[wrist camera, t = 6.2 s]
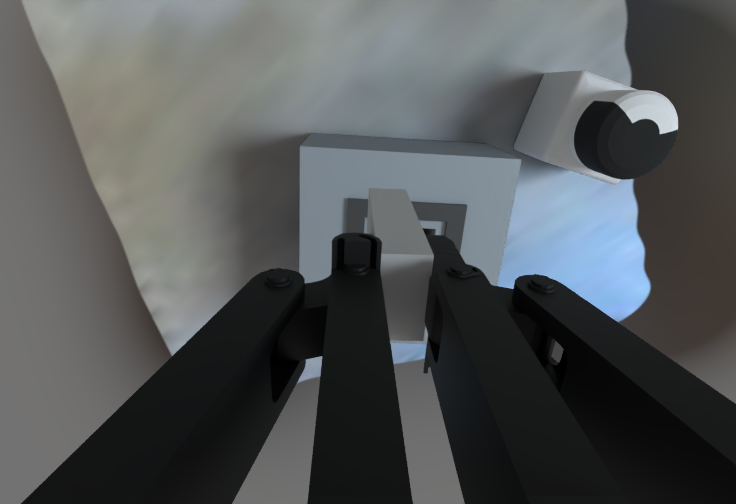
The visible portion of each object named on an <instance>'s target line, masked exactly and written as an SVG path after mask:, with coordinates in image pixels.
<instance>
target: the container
mask: <svg viewBox="0 0 736 504" xmlns="http://www.w3.org/2000/svg"><path fill="white" fill-rule="evenodd" d="M677 131H678V118H677V114H676V110H675V108H674V106H673V105H672V103H671V102H670V101H669V100H668V99H667V98H666V97H665V96H663V95H661V94H659V93H657V92H653V91H645V90H636V89H633V88H631V87H628V86H625V85H623V84H620V83H617V82H615V81H612V80H609V79H606V78H604V77H601V76H598V75H596V74H593V73H590V72H587V71H569V72H553V73H546V74H544V76H543V77H542V80H541V82H540V84H539V87H538V89H537V92H536V94H535V96H534V99H533V101H532V103H531V106H530V108H529V110H528V113H527V115H526V117H525V120H524V122H523V124H522V127H521V129H520V132H519V134H518V136H517V139H516V141H515V143H514V146H513V147H514V149H515V150H516V151H519V152H521V153H524V154H526V155H529V156H531V157H534V158H536V159H539V160H541V161H544V162H547V163H550V164H553V165H556V166H559V167H562V168H565V169H568V170H571V171H574V172H577V173H580V174H583V175H586V176H589V177H592V178H595V179H598V180H601V181H604V182H607V183H610V184H617V183H618V182H619V181H620V179H634V178H637V177H640V176H642V175H645V174H647V173H649V172H650V171H652V170H653V169H655V168H656V167H657V166H658V165H659V164H660V163H662V161H663V160H664V159H665V158H666V157H667V155H668V154H669V152H670V151H671V149H672V147H673V145H674V142H675V140H676V136H677Z"/></svg>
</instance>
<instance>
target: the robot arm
mask: <svg viewBox="0 0 736 504" xmlns="http://www.w3.org/2000/svg"><path fill="white" fill-rule="evenodd" d="M425 325H426V329H427V332H428V339H427V347H426V355H425V363H424V373H428V368H429V367H430V368H431V372H432V376H433V380H434V383H435V387H436V391H437V395H438V399H439V403H440V407H441V411H442V415H443V419H444V423H445V427H446V431H447V435H448V439H449V443H450V446H451V451H452V455H453V458H454V463H455V467H456V471H457V474H458V478H459V482H460V487H461V491H462V494H463V498H464V502H465V504H736V404H735V403H734V402H732V401H731V400H729V399H728V398H726V397H725V396H723V395H722V394H720V393H719V392H718V391H716V390H715V389H713V388H712V387H710V386H709V385H708V384H706V383H705V382H703V381H702V380H700V379H699V378H697V377H696V376H695V375H693V374H692V373H690V372H689V371H687V370H686V369H684V368H683V367H682V366H680V365H679V364H677V363H676V362H674V361H673V360H671V359H670V358H668V357H667V356H666V355H664V354H663V353H661V352H660V351H658V350H657V349H656V348H654V347H653V346H651V345H650V344H648V343H647V342H645V341H644V340H643V339H641V338H639V337H638V336H637V335H635V334H634V333H632V332H631V331H630V330H628V329H627V328H625V327H624V326H622V325H621V324H619V323H618V322H617V321H615V320H614V319H612V318H611V317H609V316H608V315H606V314H605V313H604V312H602V311H601V310H599V309H598V308H596V307H595V306H593V305H592V304H591V303H589V302H588V301H586V300H585V299H583V298H582V297H580V296H579V295H578V294H576V293H575V292H573V291H572V290H570V289H569V288H567V287H566V286H565V285H563V284H561V283H559V282H558V281H556V280H553V279H550V278H548V277H547V276H543V275H541V276H540V275H536V274H534V275H524V276H520V277H518V278H517V279H516V280H515V284H514V289H509V288H504V287H498V286H494V285H491V284H490V282H489V280H488V279H487V277H486V276H485V274H484V273H483V272H482V271H481V270H480V269H478V268H477V267H474V266H472V265H469V264H466V263H465V262H464V260H463V258H462V256H461V255H460V254H459V251H458V249H456V246H455V244H454V242H453V241H452V240H450V239H449V238H447V237H446V236H444V235H425V233H424V231H423V229H422V226H421V224H420V222H419V219H418V217H417V215H416V212H415V210H414V208H413V205H412V203H411V201H410V198H409V196H408V194H407V191H406V189H382V188H369V197H368V217H367V234H366V233H357V232H356V233H342V234H340V235H338V236H336V237H334V238H333V240H332V268H331V275H330V276H329V277H327V278H325V279H323V280H320V281H316V282H311V283H305V279H304V277H303V276H302V275H301V274H300V273H298V272H296V271H292V270H288V269H281V268H277V269H270V270H268V271H265V272H261V273H259V274H258V275H256V276H255V277H253V278H252V279H251V280H250V281H249V282H248V283H247V284H246V285H245V286H244V287H243V288H242V289H241V290H240V291H239V292H238V293H237V294H236V295H235V296H234V297H233V298H232V299H231V300H230V301H229V302H228V303H227V304H226V305H225V306H224V307H223V308H221V309H220V310H219V311H218V312H217V313H216V314H215V315H214V316H213V317H212V318H211V319H210V320H209V321H208V322H207V323H206V324H205V325H204V326H203V327H202V328H201V329H200V330H199V331H198V332H197V333H196V334H195V335H194V336H193V337H192V338H191V339H190V340H189V341H188V342H187V343H186V344H185V345H183V346H182V347H181V348H180V349H179V350H178V351H177V352H176V353H175V354H174V355H173V356H172V357H171V358H170V359H169V360H168V361H167V362H166V363H165V364H164V365H163V366H162V367H161V368H160V369H159V370H158V371H157V372H156V373H155V374H154V375H153V376H152V377H151V378H150V379H149V380H148V381H147V382H145V383H144V385H143V386H141V387H140V388H139V389H138V390H137V391H136V392H135V393H134V394H133V395H132V396H131V397H130V398H129V399H128V400H127V401H126V402H125V403H124V404H123V405H122V406H121V407H120V408H119V409H118V410H117V411H116V412H115V413H114V414H113V415H112V416H111V417H110V418H109V419H107V421H106V422H105V423H103V424H102V425H101V426H100V427H99V428H98V429H97V430H96V431H95V432H94V433H93V434H92V435H91V436H90V437H89V438H88V439H87V440H86V441H85V442H84V443H83V444H82V445H81V446H80V447H79V448H78V449H77V450H76V451H75V452H74V453H73V454H72V455H71V456H70V457H69V458H67V460H65V462H63V463H62V464H61V465H60V466H59V467H58V468H57V469H56V470H55V471H54V472H53V473H52V474H51V475H50V476H49V477H48V478H47V479H46V480H45V481H44V482H43V483H42V484H41V485H40V486H39V487H38V488H37V489H36V490H35V491H34V492H33V493H32V494H31V495H29V497H27V498H26V499H25V500H24V501H23V502H22V503H21V504H232V503H233V501H234V499H235V497H236V495H237V493H238V491H239V489H240V487H241V486H242V484H243V482H244V480H245V478H246V477H247V475H248V473H249V471H250V469H251V467H252V465H253V464H254V462H255V460H256V458H257V456H258V454H259V452H260V450H261V449H262V447H263V445H264V443H265V441H266V439H267V437H268V436H269V434H270V432H271V430H272V428H273V426H274V424H275V423H276V421H277V419H278V417H279V415H280V413H281V411H282V410H283V408H284V406H285V404H286V402H287V400H288V398H289V396H290V395H291V393H292V391H293V389H294V387H295V385H296V383H297V382H298V380H299V378H300V376H301V374H302V372H303V370H304V368H305V364H306V359H310V358H315V357H319V356H323V357H322V367H321V377H320V387H319V396H318V407H317V416H316V426H315V436H314V446H313V455H312V465H311V475H310V485H309V495H308V504H413V501H412V496H411V488H410V481H409V474H408V467H407V460H406V454H405V446H404V438H403V431H402V424H401V416H400V409H399V402H398V395H397V388H396V380H395V373H394V366H393V359H392V351H391V344H390V340H395V341H424V333H425ZM556 341H557V342H558V343H559V344H560V345H561V346H562V348H563V349H564V351H563V354H562V358H561V360H560V362H559V363H558V362H556V361H555V360H554V359H553V358H552V357H551V356H552V352H553V349H554V345H555V342H556Z"/></svg>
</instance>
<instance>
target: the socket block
mask: <svg viewBox="0 0 736 504" xmlns="http://www.w3.org/2000/svg"><path fill="white" fill-rule="evenodd" d="M521 161H522V159H520V158H517V157H515V156H513V155H511V154H508V153H506V152H504V151H501V150H499V149H497V148H495V147H492V146H490V145H488V144H483V143H467V142H451V141H434V140H418V139H402V138H386V137H369V136H353V135H337V134H320V133H311V134H310V135H309V136H308V138H307V139H306V140H305V141H304V142H303V143H302V144H301V146H300V247H299V273H300V274H301V275H302V276H303V277H304V279H305V283H311V282H316V281H320V280H323V279H325V278H327V277H329V276H330V275H331V268H332V240H333V238H334V237H336V236H338V235H340V234H342V233H356V232H357V233H366V234H367V217H368V197H369V188H382V189H406V191H407V194H408V196H409V198H410V201H411V203H412V205H413V208H414V210H415V212H416V215H417V217H418V219H419V222H420V224H421V226H422V229H423V231H424V233H425V235H444V236H446V237H447V238H449V239H450V240H452V241H453V242H454V244H455V246H456V249H458V251H459V254H460V255H461V256H462V258H463V260H464V262H465V263H466V264H469V265H472V266H474V267H477V268H478V269H480V270H481V271H482V272H483V273H484V274H485V276H486V277H487V279H488V280H489V282H490V284H491V285H494V286H497V284H498V279H499V274H500V269H501V264H502V258H503V253H504V248H505V243H506V238H507V233H508V228H509V222H510V217H511V212H512V207H513V202H514V197H515V192H516V186H517V181H518V176H519V171H520V166H521ZM427 339H428V332H427V329H426V325H425V333H424V341H395V340H390V343H408V344H427Z"/></svg>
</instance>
